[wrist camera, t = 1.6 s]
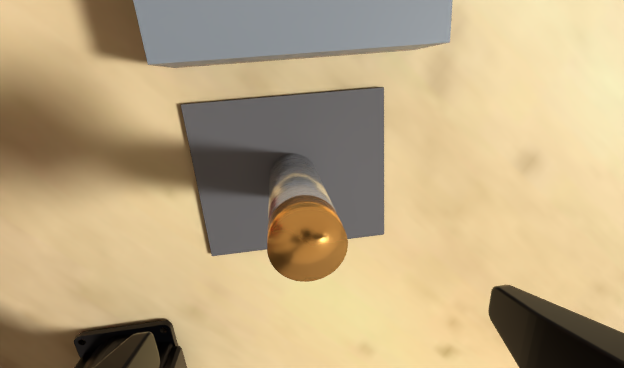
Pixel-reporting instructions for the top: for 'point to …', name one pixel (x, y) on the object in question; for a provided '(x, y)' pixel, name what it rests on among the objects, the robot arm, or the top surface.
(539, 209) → the top surface
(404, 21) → the hole block
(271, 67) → the top surface
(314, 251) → the pin
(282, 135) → the mat
